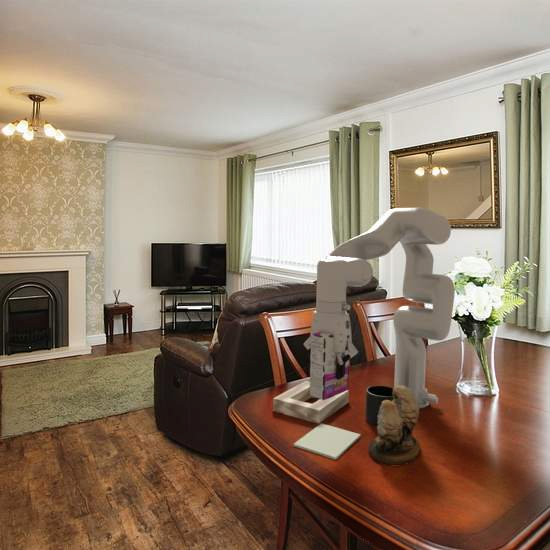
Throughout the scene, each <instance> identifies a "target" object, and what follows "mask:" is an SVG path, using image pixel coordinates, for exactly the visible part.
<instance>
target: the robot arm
mask: <svg viewBox="0 0 550 550" xmlns="http://www.w3.org/2000/svg"><path fill="white" fill-rule="evenodd" d="M451 233H452V227H451V224H450V222H449V220H448V219H447V218H446V217H445V216H443V215H442V214H440V213H437V212H435V211H434V210H433V211H432V210H431V209H428V208H425V207H421V206H420V207H419V206H418V207H415V206H414V207H396V208H392V209H389V210H388V211H387V212H386V213H384V214H383V215H382V216H381V217H380V219H378V220H377V221H376V222H375V224H374V225H372V226H371V227H370V228H369V230H368V231H366V232H364V233H362V234H360V235H357V236H355V237H353V238H351V239H349V240H347V241H344V242H343V243H341V244H338V246H336V247H335V248H334V249H332V251H331V252H330V253H328V255H327V256H326V257H325V258H324V259H320V260H319V261H318V262H317V265H316V300H315V301H316V305H315V306H316V307H315V311H313V315H312V320H311V326H310V336H309V337H308V338H307V339H306V340H305V341H304V343H303V346H304V347H305V348H306V350H308V353H309V354H310V351H311V334H313V333H325V334H331V335H333V341H334V352H335V353H336V355H337V359H338V364H337V365H336V379H337V380H340V379H341V378H343V377H344V375H345V363H346V362H347V361H348V360H349V361H350V359H353V357H355V356H356V355H357V354H358V353H359V351H358V349H357V348H356V346H355V345H354V344H353V342H352V326H351V325H352V324H351V319H350V314H349V313H348V312H347V311H350V310H351V304H348V303H347V287H356V288H357V287H363V286H366V285H367V284H369V282H371V280H372V279H373V277H374V269H373V266H372V264H371V263H370V262H369V260H374V259H377V258H380V257H384V256H387V255H388V254H389V253H390V252H391V251H392V250H393V248H394V247H395V246H396V245H397V244H398V243H400V244H401V246H402V248H403V250H404V252H405V266H404V275H403V283H402V296H403V298H404V299H405V300H407V301H410V302H414V303H419V304H427V305H432V308H428V307H423V306H416V305H403V306H400V307H397V309H396V310H395V312H394V314H393V327H394V328H393V329H394V335H395V337H394V338H395V358H394V362H395V363H394V381H393V382H394V383H393V385H394V386H393V388H394V387H395V386H397V385H402V386H405V387H407V388H408V389H410V390H411V392H412V393H413V395H414V397H415V401H416V402H417V404H418V405H419V409H425V408H427V407H428V406H429V405H430V403H432V404H438V403H439V397H437V395H436V394H432V393H429V392H428V388H426V387H425V385H426V364H427V348H426V344H425V342H424V340H423V339H426V340H430V341H440V342H441V341H444V340H445V339H447V337H448V335H449V333H450V330H451V326H452V318H453V310H454V309H453V308H454V303H455V296H456V295H455V294H456V293H455V291H456V290H455V284H454V282H453V279H451V277H450V276H448V275H446V274H445V275H444V274H436V273H434V271H433V270H434V261H435V259H434V256H433V254H432V253H433V252H432V251H431V249H430V247H428V245H444V243H446V242H447V241H448V240H449V238H450V237H451ZM345 350H349V351H350V352H349V353H348V354H347V355H346V353H345Z"/></svg>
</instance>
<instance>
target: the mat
mask: <svg viewBox="0 0 550 550" xmlns="http://www.w3.org/2000/svg"><path fill="white" fill-rule="evenodd" d="M360 438H361V433H356V432H353V431H350V430H346V429H343V428H339V427H336V426H333V425H328V424H326V423H325V424H324V423H322V422H321V423H320V424H318V425H317V426H315V427H314V428H313V429H311V431H309V432H307V433H306V434H304V435H303V436H302V437H301V438H299V439H298V440H297V441H296V442H294V443H293V447H296V448H299V449H302V450H305V451H308V452H311V453H314V454H317V455H320V456H323V457H326V458H328V459H332V460H338V458H340V457H341V456H342V455H343V454H344V453H345V452H346V451H347V450H348V449H349V448H351V446H352V445H353V444H354V443H355V442H357V441H358V440H359V439H360Z"/></svg>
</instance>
